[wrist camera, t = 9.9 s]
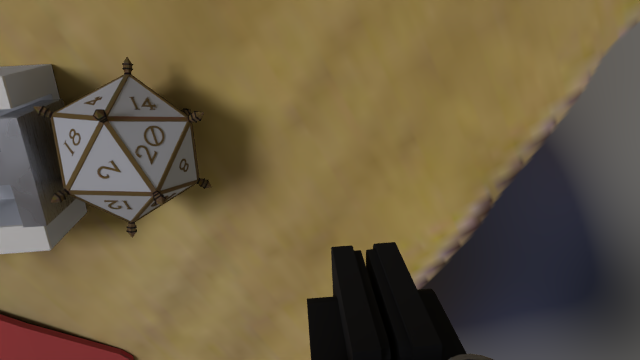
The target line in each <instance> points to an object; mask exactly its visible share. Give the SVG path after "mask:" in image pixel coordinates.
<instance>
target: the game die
mask: <svg viewBox="0 0 640 360" xmlns="http://www.w3.org/2000/svg"><path fill="white" fill-rule="evenodd" d="M122 65H123V69H124V72H125V73H124V75H122V76H120V77H118V78H117V79H115V80H113V81H111V82H109V83H107V84H105V85H104V86H102V87H100V88H98V89H96V90H94V91H92V92H91V93H89V94H87V95H85V96H83V97H81V98H79V99H78V100H76V101H74V102H72V103H70V104H68V105H66V106H65V107H63V108H61V109H59V110H57V111H55V112H52V111H50V110H49V108H45V106H33V107H34V109H35V110H36V111H37V113H38V115H42V116H43V117H49V118H50V119H51V123H52V129H53V134H54V139H55V145H56V150H57V155H58V161H59V166H60V171H61V177H62V182H63V187H64V190H62V191H60V190H59V191H58V192H57V193H54V194H53V198H52V200H51V202H50V203H56V202H60V203H62V201H63V200H66V197H67V196H68V195H70V196H72V197H74V198H76V199H79V200H81V201H83V202H85V203H88V204H90V205H92V206H94V207H96V208H99V209H101V210H103V211H105V212H107V213H110V214H112V215H114V216H116V217H118V218H121V219H123V220H125V221H127V222H128V223H129V224H128V226H127V228H128V229H127V231H126V232H128V233H129V234H130V235H131V237H132V238H133V236H134V234H135V233H136V232H137V229H136V228H137V227H136V225H135V222H136V221H137V220H139V219H141V218H142V217H144V216H145V215H147V214H149V213H150V212H152V211H153V210H155V209H157V208H158V207H160V206H161V205H163V204H165V203H166V202H168V201H169V200H171V199H173V198H174V197H176V196H177V195H179V194H181V193H182V192H184V191H185V190H187V189H188V188H190V187H192V186H193V185H195V184H196V183H197V184H199V185H200V187H203V188H204V189H205V188H209V187H212V186H211V185H210V183H209V181H208V180H205V178H204V179H200V178H199V173H198V165H197V158H196V150H195V142H194V135H193V127H192V122H197V121H198V120H199V121H201V117H202V115H203V113H204V112H198V111H194V113H191V115H190V111H191V110H189V109H183V110H182V111H181V110H179V109H178V108H176V107H175V106H174V105H172V104H171V103H170V102H168V101H167V100H165V99H164V98H163V97H161V96H160V95H159V94H157V93H156V92H154V91H153V90H152V89H150V88H149V87H148V86H146V85H145V84H143V83H142V82H141V81H139V80H138V79H137V78H135V77H134V76H132V75H131V71H132V70H133V69H132V65H133V64H132V63H131V62H130V60H129V59H128V57H126V59H125V61H124V63H122ZM189 115H190V116H189Z"/></svg>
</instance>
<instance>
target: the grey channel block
mask: <svg viewBox="0 0 640 360" xmlns="http://www.w3.org/2000/svg"><path fill="white" fill-rule="evenodd" d="M33 106H45V108H49V110H50V111H52V112H55V111H57V110H59V109H61V108H63V107H64V103H63V99H51V100H40V101H38V102H35V103H33V104H30V105H27V106H25V107H22V108H20V109H17V110H14V111H12V112H9V113H7V114H4V115H1V116H0V186H2V185H11V188H12V191H13V194H14V198H15V201H16V204H17V208H18V211H19V214H20V218H21V221H22V224H23V228H24V227H38V226H47V225H48V224H49V223H51V222H52V221H53V220H54V219H55V218H56V217H57V216H58V215H59V214H60V213H61V212H62V211H63V210H65V209H66V208H67V207H68V206H69V205H70V204H71V203H72V202H73V201H74V200H75V199H76V198H74V197H72V196H70V195H68V196H67V197H66V200H63V201H62V203H60V202H56V203H50V202H51V200H52V198H53V194H54V193H57V192H58V191H59V190H60V191H62V190H64V187H63V182H62V177H61V171H60V166H59V161H58V155H57V150H56V145H55V139H54V134H53V129H52V123H51V119H50V118H49V117H43V116H42V115H38V113H37V111H36V110H35V109H34V107H33Z"/></svg>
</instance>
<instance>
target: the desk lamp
mask: <svg viewBox="0 0 640 360" xmlns="http://www.w3.org/2000/svg"><path fill="white" fill-rule="evenodd" d="M0 360H134V358H133V356H132V355H131V354H129V353H127V352H125V351H123V350H122V349H118V348H114V347H111V346H107V345H104V344H100V343H96V342H93V341H89V340H86V339H82V338H78V337H75V336H71V335H68V334H64V333H60V332H57V331H53V330H50V329H46V328H42V327H39V326H35V325H32V324H28V323H25V322H22V321H19V320H16V319H13V318H10V317H7V316H4V315H1V314H0Z"/></svg>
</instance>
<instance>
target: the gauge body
mask: <svg viewBox="0 0 640 360" xmlns="http://www.w3.org/2000/svg"><path fill="white" fill-rule="evenodd" d="M51 99H60V98H59V93H58V89H57V85H56V81H55V77H54V73H53V69H52V65H51V64H43V65H25V66H6V67H0V116H1V115H4V114H7V113H9V112H12V111H14V110H17V109H20V108H22V107H25V106H27V105H30V104H33V103H35V102H38V101H40V100H51ZM86 213H87V209H86V205H85V202H83V201H81V200H79V199H75V200H74V201H73V202H72V203H71V204H70V205H69V206H68V207H67V208H66V209H65V210H63V211H62V212H61V213H60V214H59V215H58V216H57V217H56V218H55V219H54V220H53V221H52V222H51V223H49V224H48V225H47V226H38V227H24V228H23V224H22V221H21V218H20V214H19V211H18V208H17V204H16V201H15V198H14V194H13V191H12V188H11V185H2V186H0V254H7V253H21V252H35V251H48V250H51V249H52V248H53V247H54V246H55V245H56V244H57V243H58V242H59V241H60V240H61V239H62V238H63V237H64V236H65V235H66V234H67V233H68V232H69V231H70V229H71V228H72V227H73V226H74V225H75V224H76V223H77V222H78V221H79V220H80V219H81V218H82V217H83V216H84V215H85V214H86Z"/></svg>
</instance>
